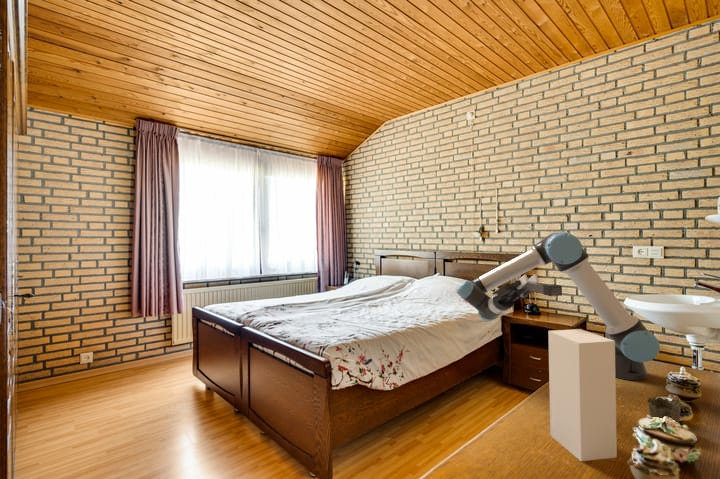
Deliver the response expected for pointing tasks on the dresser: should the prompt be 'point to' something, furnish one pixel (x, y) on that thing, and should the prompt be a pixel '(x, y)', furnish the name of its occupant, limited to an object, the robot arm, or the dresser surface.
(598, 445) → the tall cream upright block
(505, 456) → the dresser surface
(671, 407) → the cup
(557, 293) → the dark grey bar
